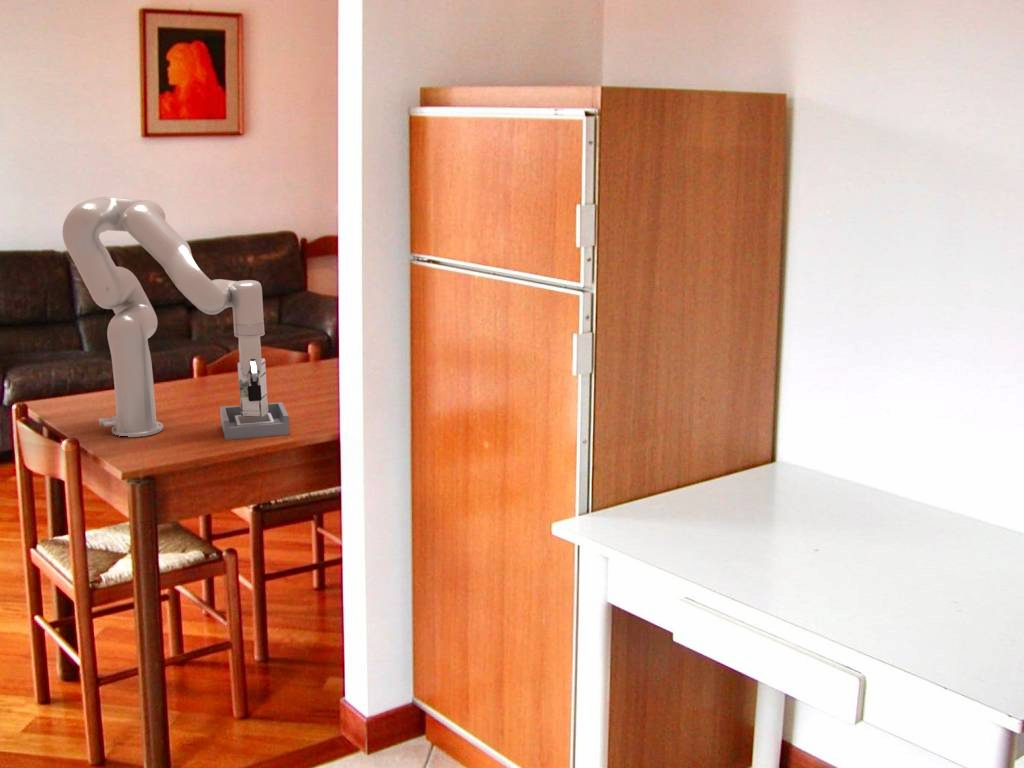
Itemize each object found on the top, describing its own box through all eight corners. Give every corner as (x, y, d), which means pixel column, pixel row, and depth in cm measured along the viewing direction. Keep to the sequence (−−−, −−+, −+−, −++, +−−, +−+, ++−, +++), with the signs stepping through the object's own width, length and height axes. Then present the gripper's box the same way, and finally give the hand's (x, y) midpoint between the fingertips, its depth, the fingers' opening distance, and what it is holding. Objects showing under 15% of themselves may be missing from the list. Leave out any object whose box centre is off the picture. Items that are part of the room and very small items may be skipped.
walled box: (225, 439, 296) (224, 420, 295) (221, 425, 309) (220, 407, 308) (289, 434, 301) (288, 415, 300) (282, 420, 314) (282, 402, 313)
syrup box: (268, 411, 307) (265, 357, 303) (262, 418, 301) (258, 362, 298) (247, 411, 307) (244, 357, 304) (240, 417, 302) (236, 362, 298)
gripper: (231, 324, 306) (235, 390, 310) (236, 337, 290) (241, 406, 294) (260, 322, 308) (264, 387, 312) (267, 334, 292) (272, 403, 296)
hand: (253, 396), depth 303 cm, fingers closed on syrup box, 7 cm apart
